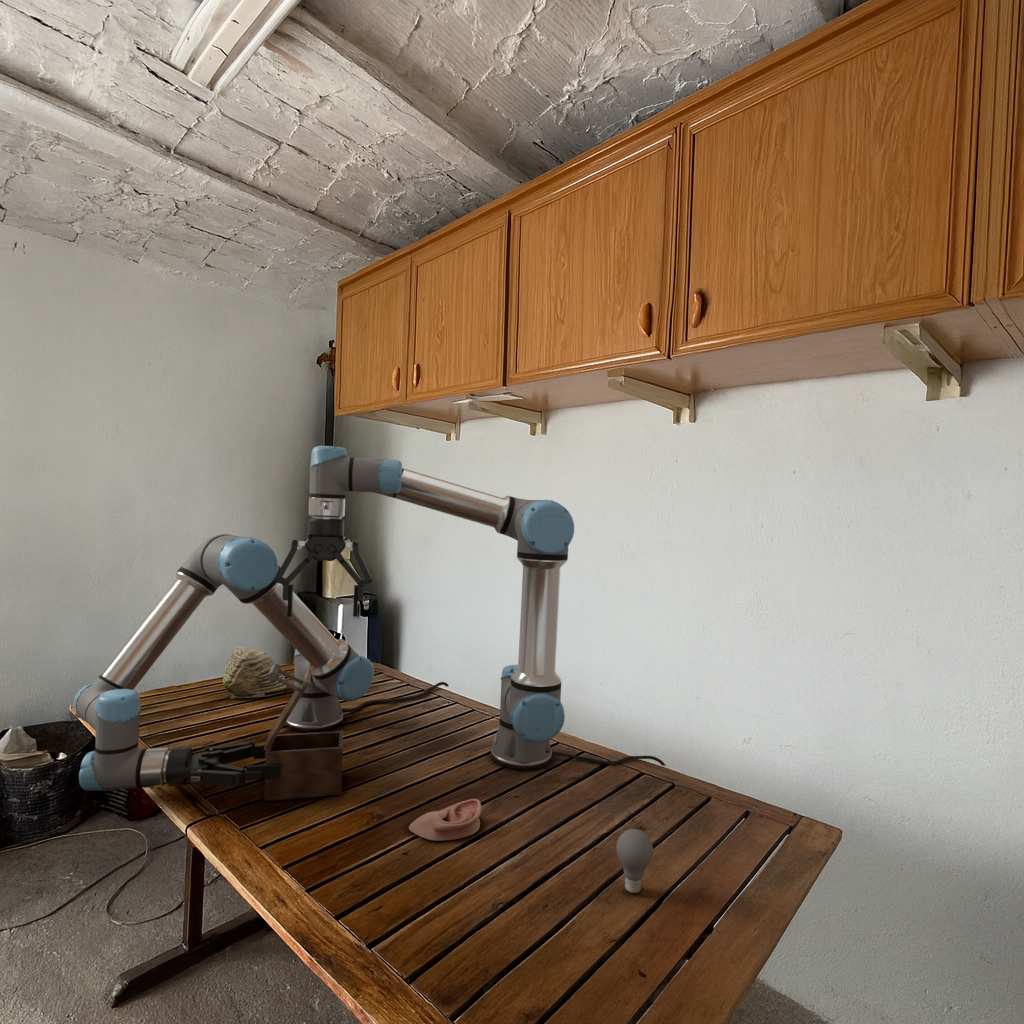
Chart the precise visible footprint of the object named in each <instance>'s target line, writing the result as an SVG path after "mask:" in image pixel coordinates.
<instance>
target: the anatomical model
mask: <svg viewBox="0 0 1024 1024" xmlns="http://www.w3.org/2000/svg"><path fill="white" fill-rule="evenodd" d="M481 814H482V803H481V801H480V800H479V799H478V798H470V799H466V800H463V801H460V802H457V803H454V804H452V805H449V806H447V807H445V808H443V809H440V810H433V811H429V812H426V813H424V814H422V815H420V816H419V817H417V818H416V819H414V820H413V821H412V822H411V823H410V825H409V826H408V830H409V831H410V832H411V833H413V834H415V835H416V836H418V837H420V838H423V839H425V840H428V841H433V842H443V841H452V840H457V839H458V840H459V839H463V838H466V837H467V838H468V837H469V836H472V835H473V834H475V833H477V832H478V831H479V830H480V828H481V820H480V817H481Z"/></svg>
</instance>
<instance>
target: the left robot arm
mask: <svg viewBox="0 0 1024 1024" xmlns="http://www.w3.org/2000/svg"><path fill="white" fill-rule="evenodd" d="M278 560H279V559H278V557H277V554H276V552H275V550H273V548H272V547H271V546H270V545H269V544H268V543H266V542H264V541H263V540H260V539H258V538H254V537H251V536H240V535H232V534H229V533H221V534H216V535H213V536H211V537H209V538H207V539H206V540H204V541H203V542H202V543H200V544H199V545H198V546H197V548H195V549H194V550H193V552H191V554H190V555H189V556H188V557H187V559H186V560H185V561H184V562H183V563H182V564H181V566H180V567H179V568H178V570H177V571H176V572H175V576H176V579H175V581H174V582H173V583H172V584H171V586H170V587H169V589H167V590H166V592H165V593H164V595H162V597H161V598H160V599H159V601H158V602H157V603H156V604H155V606H154V607H153V608H152V609H151V611H149V613H148V615H147V616H146V617H145V618H144V619H143V620H142V622H141V623H140V625H139V626H138V627H137V628H136V629H135V630H134V632H133V633H132V634H131V636H130V637H129V638H128V639H127V641H126V642H125V643H124V645H123V646H121V648H120V649H119V650H118V652H117V653H116V654H115V656H114V657H113V658H112V659H111V661H110V662H109V663H108V664H107V666H106V667H105V668H104V669H103V671H102V672H101V673H100V674H99V676H98V677H97V678H96V679H95V680H94V681H93V682H91V683H89V684H86V685H84V686H82V687H81V688H80V689H79V690H78V691H77V692H76V693H75V695H74V698H73V708H74V710H75V712H76V715H78V717H79V718H80V719H81V720H82V721H84V722H85V723H86V724H88V725H89V726H90V727H91V728H92V729H93V730H94V733H95V742H94V743H95V746H94V750H92V751H89V752H87V753H86V754H84V757H83V758H82V760H81V764H80V769H79V773H78V783H79V786H80V787H81V789H83V790H84V791H87V792H88V791H91V792H93V791H96V792H97V791H98V792H99V791H102V792H110V791H119V790H131V789H144V788H145V789H146V788H147V789H148V788H150V789H151V790H154V789H156V788H162V787H165V786H168V787H181V786H187V785H188V784H189V785H190V786H200V785H204V786H205V785H207V786H222V787H243V786H245V785H246V781H257V780H265V779H275V778H280V773H281V764H269V765H265V764H251V765H246V767H241V766H236V765H231V763H235V762H239V761H243V760H247V759H250V758H253V760H260V759H261V760H263V759H264V760H265V753H266V751H265V750H264V748H265V745H266V744H260V745H259V744H257V745H256V741H254V740H251V741H244V742H238V743H231V744H224V745H218V746H205V747H204V748H203V752H201V753H194V749H193V748H192V746H175V747H173V748H170V747H168V746H167V747H166V746H165V747H151V748H139V741H140V740H139V739H140V738H139V737H140V736H139V735H140V718H141V717H140V716H141V709H142V706H141V698H140V697H141V696H140V693H139V692H138V691H137V690H136V689H135V688H136V687H137V686H138V685H139V683H140V682H141V681H142V680H143V678H144V677H145V675H146V674H147V673H148V671H150V669H152V667H153V665H154V664H155V662H156V661H157V660H158V659H159V657H160V656H162V654H163V652H164V651H165V650H166V649H167V647H168V646H169V645H170V643H172V641H173V639H174V638H175V637H176V635H177V634H178V633H179V632H180V630H181V629H182V628H183V626H184V625H185V624H186V623H187V621H188V620H189V618H191V616H192V615H193V614H194V612H195V611H196V610H197V609H198V607H199V606H200V604H201V603H202V602H203V601H204V599H205V598H207V597H211V596H213V595H214V594H215V593H216V592H217V590H218V589H219V588H220V587H221V586H222V585H223V586H225V588H227V590H229V592H230V593H231V594H232V595H233V596H234V597H235V598H236V599H237V600H238V601H239V602H240V603H242V604H243V605H247V604H248V605H249V604H252V605H253V606H254V608H256V610H258V611H259V612H260V613H261V614H262V616H264V617H265V619H266V620H267V621H268V622H269V623H270V624H271V625H272V626H273V627H274V628H275V629H276V631H278V632H279V633H280V634H281V635H282V636H283V638H284V639H285V640H287V641H288V643H289V644H290V645H291V646H292V647H293V648H294V649H295V650H294V655H293V657H294V672H293V673H294V674H293V676H295V677H297V678H299V679H301V680H302V679H303V677H304V676H305V674H306V673H307V671H308V669H311V670H312V673H311V678H310V683H309V685H308V686H307V688H306V690H305V691H304V693H303V695H302V696H301V698H300V699H299V701H298V703H297V704H296V706H295V707H294V709H293V711H292V712H291V714H290V716H289V717H288V719H287V720H286V722H285V726H286V728H287V729H289V730H291V731H294V732H295V731H296V732H300V733H315V732H326V731H329V730H332V729H335V728H337V727H339V726H340V725H342V723H343V722H344V714H343V713H352V712H353V713H354V712H356V711H359V710H360V709H362V708H364V707H365V706H367V705H371V704H380V703H381V704H383V703H397V702H405V701H411V700H415V699H419V698H421V697H423V696H425V695H426V694H428V693H429V692H431V691H433V690H435V689H436V688H438V687H440V686H445V687H446V688H447V687H450V685H449V684H448V683H447V682H445V681H440V682H437V683H436V684H434V685H432V686H433V687H432V686H430V687H428V688H427V689H425V690H424V691H423V692H421V693H418V694H414V695H410V696H404V697H395V698H378V699H370V700H366V701H364V702H362V703H360V704H359V705H357V706H355V707H351V708H350V707H349V708H347V707H346V708H344V707H343V708H342V706H341V702H340V701H346V702H353V701H354V702H355V701H357V700H359V699H361V698H362V697H363V696H365V695H366V693H367V692H368V691H369V690H370V689H371V686H372V684H373V681H374V676H375V668H374V664H373V662H372V661H371V660H370V659H368V658H367V657H366V656H364V655H359V654H358V653H357V652H356V651H355V650H354V648H352V646H351V645H350V644H349V643H348V642H347V641H346V640H345V639H343V638H335V637H334V635H333V634H332V633H331V631H329V630H328V629H327V628H326V626H325V625H323V623H322V622H321V620H319V618H318V617H316V615H315V614H314V613H313V612H312V610H310V608H309V607H308V606H307V605H306V604H305V603H304V602H303V601H302V600H301V598H300V597H299V595H297V594H296V593H295V591H293V605H292V616H291V617H287V612H288V600H283V585H282V584H280V583H276V582H275V581H274V578H275V577H276V575H277V573H278V571H279V570H280V568H281V566H280V565H279V564H278V563H279V561H278ZM299 684H300V683H298V682H296V681H294V680H293V685H295V686H297V687H298V685H299ZM294 692H295V690H294V689H293V693H294Z"/></svg>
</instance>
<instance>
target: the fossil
mask: <svg viewBox="0 0 1024 1024" xmlns="http://www.w3.org/2000/svg"><path fill="white" fill-rule="evenodd" d="M274 664H276V663H275V662H274V660H273V659H272V658H271V657H270V656H269V655H268V654H267V653H266V652H265V650H264V649H263V648H260V647H258V648H251V647H247V646H246V647H245V646H238V647H237V648H236V649H235V650H233V651H232V653H231V656H230V657H229V659H228V660H227V663H226V666H225V668H224V671H223V675H222V676H223V677H222V685H223V687H224V688H225V690H226V691H228V693H229V698H230V699H250V698H264V697H271V696H275V695H281V694H284V693H285V691H286V689H287V687H288V686H286V685H284V684H282V683H280V682H278V681H276V680H275V681H269V680H268V674H269V672H270V669H271V667H272V666H273V665H274ZM278 677H280V678H282V679H284V680H286V678H285V677H286V676H284V675H282V674H280V673H279V674H278Z"/></svg>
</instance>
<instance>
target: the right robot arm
mask: <svg viewBox="0 0 1024 1024" xmlns="http://www.w3.org/2000/svg"><path fill="white" fill-rule="evenodd" d="M346 492H350V493H351V492H356V493H357V492H358V493H373V494H378V495H381V496H385V497H388V498H392V499H396V500H399V501H403V502H406V503H410V504H413V505H417V506H419V507H423V508H427V509H430V510H433V511H437V512H441V513H443V514H447V515H450V516H453V517H457V518H460V519H464V520H467V521H470V522H474V523H477V524H481V525H484V526H487V527H491V528H493V529H494V530H495V532H496V533H497V534H500V535H503V536H507V537H509V538H511V539H513V540H515V541H517V544H516V545H517V547H516V559H517V561H519V562H520V563H521V564H522V577H521V578H522V579H521V581H522V582H521V583H522V584H521V599H520V600H521V601H520V621H519V639H518V640H519V642H518V660H517V661H518V662H517V664H510V665H506V666H504V667H503V668H502V671H501V676H500V681H501V682H500V705H499V725H498V728H497V731H496V734H495V735H494V737H493V742H492V745H491V747H490V758H491V760H492V761H493V762H494V763H496V764H497V765H499V766H501V767H505V768H508V769H513V770H526V771H527V770H537V769H540V768H543V767H546V766H547V765H549V764H550V763H551V762H552V759H553V757H552V756H556V757H557V756H558V757H563V758H570V759H576V760H580V761H581V760H582V761H587V762H590V763H595V764H601V765H608V766H609V765H610V766H611V765H619V764H621V763H625V762H626V761H630V760H631V761H632V760H653V761H655V762H657V763H659V764H660V765H661V766H663V767H665V766H667V765H666V763H665V762H664V761H663V760H662V759H660V758H659V757H656V756H653V755H629V756H625V757H623V758H621V759H617V760H602V759H601V760H600V759H596V758H592V757H587V756H581V755H575V754H571V753H564V752H558V751H552V746H551V742H550V741H551V740H552V739H553V738H555V737H556V736H557V735H558V734H559V733H560V732H561V730H562V729H563V726H564V724H565V719H566V716H565V714H566V713H565V708H564V705H563V703H562V702H561V700H562V678H561V676H560V675H559V674H558V673H557V671H556V668H557V667H556V664H557V663H556V662H557V644H558V628H559V627H558V624H559V608H560V607H559V606H560V605H559V604H560V589H561V588H560V587H561V569H562V567H563V566H564V565H565V564H566V563H567V562H568V561H569V560H568V559H569V545H570V544H571V542H572V541H573V538H574V534H575V522H574V519H573V516H572V514H571V513H570V511H569V510H568V509H567V508H566V507H565V506H564V505H562V504H561V503H559V502H557V501H555V500H551V499H524V498H519V497H515V496H511V495H506V496H504V497H500V496H497V495H493V494H490V493H487V492H484V491H480V490H477V489H473V488H471V487H468V486H467V487H466V486H464V485H461V484H457V483H453V482H450V481H446V480H444V479H440V478H437V477H433V476H431V475H427V474H424V473H420V472H417V471H414V470H410V469H407V468H403V463H402V461H400V460H399V459H393V458H388V457H386V458H377V457H355V456H349V455H348V450H347V449H346V447H342V446H332V445H331V446H330V445H317V446H314V447H313V448H312V450H311V456H310V465H309V492H308V493H309V494H308V495H309V497H308V516H309V517H310V518H309V519H308V521H307V538H306V540H300V539H298V538H294V539H293V540H292V541H291V546H290V550H289V552H288V554H287V556H286V557H285V559H284V561H283V562H282V564H281V566H280V567H281V568H280V570H279V571H278V573H277V575H276V577H275V578H274V581H275V582H276V583H280V584H282V585H283V600H288V612H287V617H291V616H292V605H293V592H294V584H290V583H292V581H293V580H295V578H296V577H297V576H298V575H299V574H300V573H301V572H302V571H303V570H304V569H305V568H306V567H307V566H308V564H310V562H311V561H312V560H313V559H314V560H315V561H317V562H323V561H326V562H334V561H335V560H337V562H338V563H339V564H340V565H341V566H342V567H343V569H344V570H345V571H346V573H347V574H349V576H350V577H351V578H352V580H353V581H354V582H355V583H356V584H354V586H353V610H352V611H353V612H352V616H353V617H358V602H359V601H361V602H362V601H363V599H364V588H365V586H366V585H369V584H371V583H372V582H373V579H372V577H371V575H370V572H369V570H368V567H367V566H366V563H365V561H364V559H363V557H362V555H361V553H360V551H359V542H358V541H357V540H352V541H346V540H345V521H344V519H342V518H344V517H345V513H346ZM303 547H305V549H306V550H307V552H308V554H307V555H306V557H304V558H303V560H302V561H300V563H299V564H298V565H297V566H296V567H295V568H294V569H293V570H292V571H291V572H290V573H289V574H288V576H286V577H284V575H285V573H286V572H287V570H288V568H289V566H290V564H291V563H292V561H293V559H294V557H295V556H296V554H297V553H298V551H301V549H302V548H303ZM346 548H348V550H349V551H350V552H352V553H353V556H354V557H355V558H354V559H355V560H356V562H357V565H358V566H359V569H360V571H361V573H362V575H363V577H364V578H362V577H361V576H360V575H359V574H358V573H357V572H356V570H355V569H354V568H353V567H352V566H351V564H350V563H349V562H348V560H347V559H346V558H345V557H344V556H343V554H342V552H343V551H344V550H345V549H346Z"/></svg>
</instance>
